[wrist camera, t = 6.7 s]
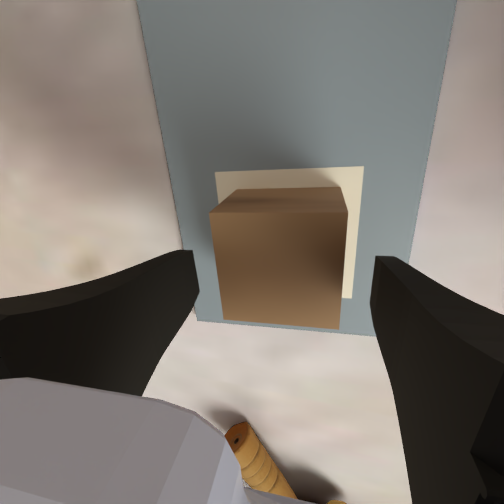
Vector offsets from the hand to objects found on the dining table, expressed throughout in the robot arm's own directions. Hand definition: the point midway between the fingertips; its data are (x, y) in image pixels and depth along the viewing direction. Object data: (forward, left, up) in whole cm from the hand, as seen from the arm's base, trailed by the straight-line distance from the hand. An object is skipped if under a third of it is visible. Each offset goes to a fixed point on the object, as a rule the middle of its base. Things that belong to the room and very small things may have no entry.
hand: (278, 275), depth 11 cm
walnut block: (0, 0, -4) cm, 4 cm away
